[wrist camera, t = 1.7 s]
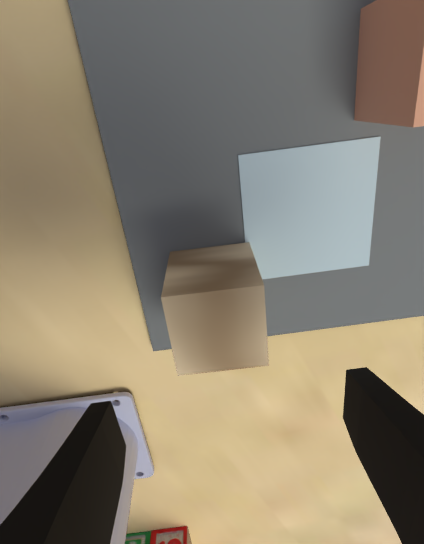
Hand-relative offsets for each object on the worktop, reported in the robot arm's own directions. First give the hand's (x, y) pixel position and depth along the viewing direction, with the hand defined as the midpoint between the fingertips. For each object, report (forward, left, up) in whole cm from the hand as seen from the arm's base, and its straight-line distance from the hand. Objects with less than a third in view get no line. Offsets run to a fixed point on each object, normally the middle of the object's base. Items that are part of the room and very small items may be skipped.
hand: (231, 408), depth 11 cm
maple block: (0, 0, -8) cm, 8 cm away
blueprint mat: (+4, +4, -9) cm, 11 cm away
